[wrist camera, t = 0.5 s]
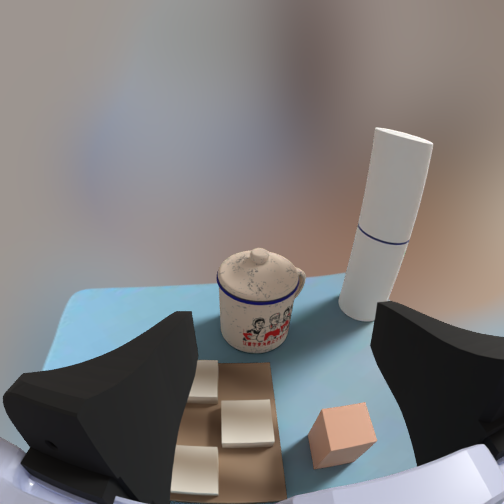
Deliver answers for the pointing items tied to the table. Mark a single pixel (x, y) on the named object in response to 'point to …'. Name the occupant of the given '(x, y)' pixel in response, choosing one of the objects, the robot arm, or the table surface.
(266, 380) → the walnut board
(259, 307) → the teacup with lid
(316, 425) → the terracotta block
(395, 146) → the cylindrical container
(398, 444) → the table surface
